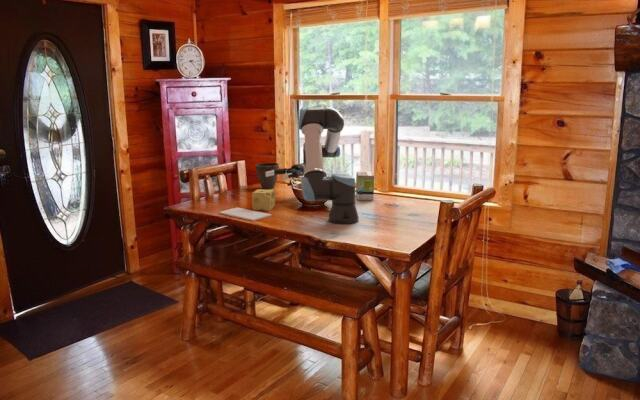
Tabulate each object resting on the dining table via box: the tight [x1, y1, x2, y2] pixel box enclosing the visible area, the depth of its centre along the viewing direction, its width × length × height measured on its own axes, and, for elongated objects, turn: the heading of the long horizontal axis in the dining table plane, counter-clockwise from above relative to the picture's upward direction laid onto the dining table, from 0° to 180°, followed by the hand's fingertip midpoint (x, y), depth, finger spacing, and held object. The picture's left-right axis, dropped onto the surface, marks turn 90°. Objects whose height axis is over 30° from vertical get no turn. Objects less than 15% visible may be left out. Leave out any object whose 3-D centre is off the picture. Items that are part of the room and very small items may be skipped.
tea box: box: [355, 171, 375, 201], centre depth 310 cm, size 15×10×15 cm
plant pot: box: [255, 162, 279, 190], centre depth 337 cm, size 15×15×16 cm
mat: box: [218, 207, 272, 222], centre depth 274 cm, size 26×13×1 cm, turn 52°
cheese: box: [251, 188, 276, 212], centre depth 286 cm, size 10×11×10 cm
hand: (274, 175), depth 291 cm, fingers open, 13 cm apart
